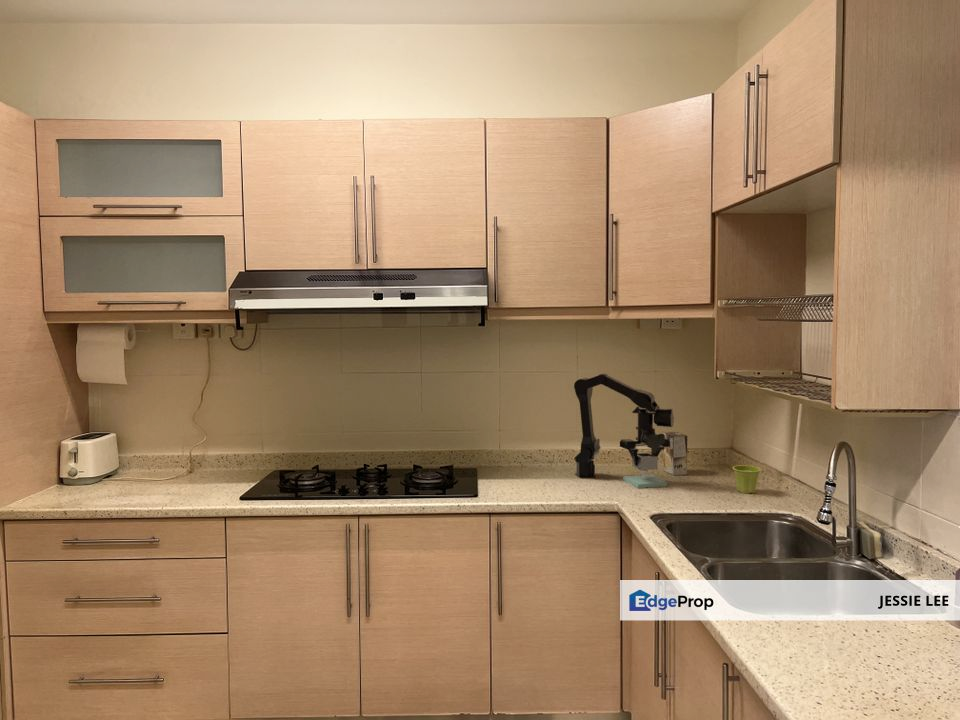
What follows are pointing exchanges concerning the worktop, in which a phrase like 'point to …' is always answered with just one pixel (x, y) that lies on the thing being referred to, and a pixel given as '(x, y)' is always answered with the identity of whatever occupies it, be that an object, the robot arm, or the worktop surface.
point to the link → (646, 461)
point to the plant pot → (746, 478)
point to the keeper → (645, 480)
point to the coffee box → (676, 454)
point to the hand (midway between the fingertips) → (644, 465)
